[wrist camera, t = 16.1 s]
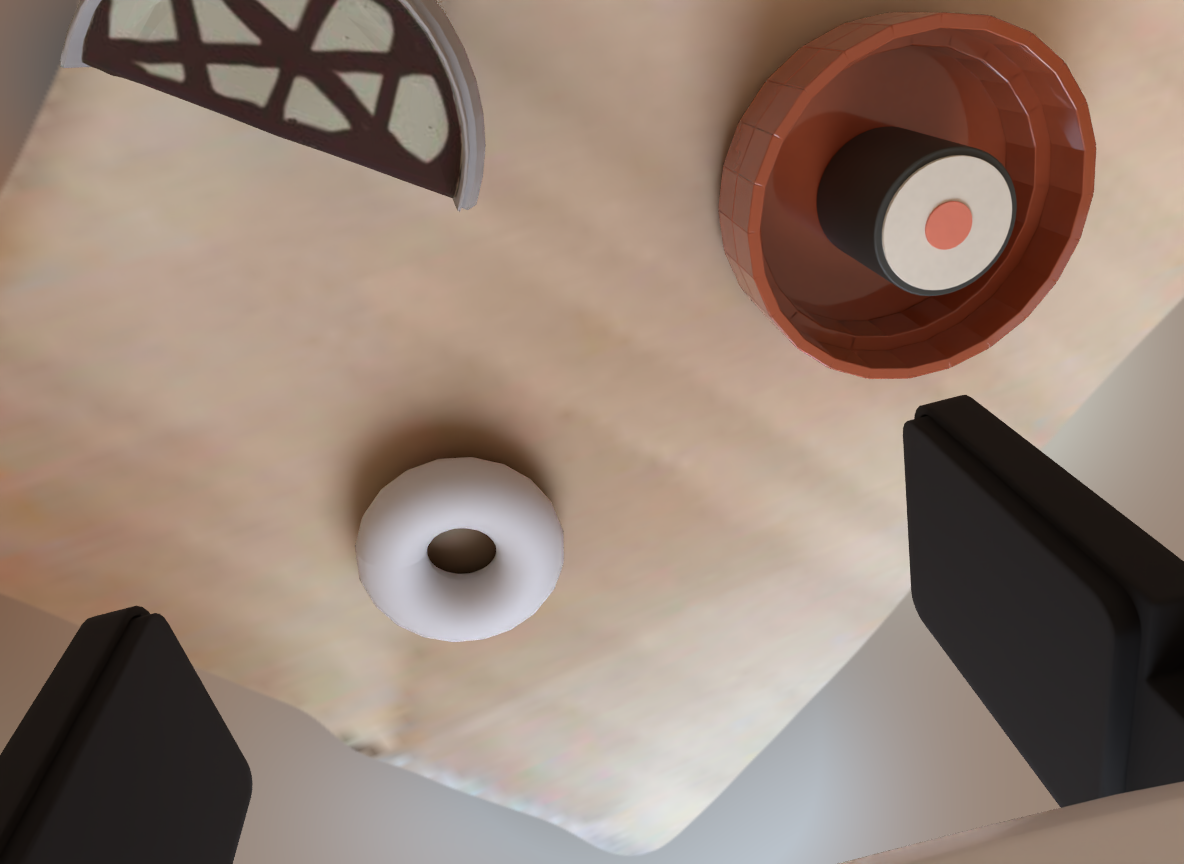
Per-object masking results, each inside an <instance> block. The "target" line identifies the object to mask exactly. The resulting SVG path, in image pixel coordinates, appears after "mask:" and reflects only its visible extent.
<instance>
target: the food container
mask: <svg viewBox="0 0 1184 864" xmlns="http://www.w3.org/2000/svg"><path fill="white" fill-rule="evenodd" d="M60 62H61V66H60V67H63V68H74V67H94V68H97V69H100V70H102V71H104V72H106V73H108V74H110V75H113V76H118V77H122V78H125V79H128V80H131V81H134V82H137V83H140V84H143V85H146V86H148V87H151V88H154V89H156V90H159V91H162V92H164V93H167V94H170V95H172V96H175V97H178V98H180V99H183V100H186V101H188V102H191V103H194V104H196V105H199V106H202V107H204V108H207V109H210V110H212V111H215V112H218V113H220V114H223V115H225V116H228V117H230V118H233V119H235V120H238V121H241V122H243V123H246V124H248V125H251V126H253V127H256V128H258V129H261V130H263V131H266V132H268V133H271V134H274V135H276V136H279V137H282V138H285V139H288V140H291V141H294V142H297V143H299V144H302V145H305V146H308V147H311V148H314V149H317V150H320V151H323V152H326V153H329V154H332V155H334V156H337V157H340V158H343V159H345V160H348V161H351V162H354V163H357V164H359V165H362V166H365V167H368V168H370V169H373V170H376V171H379V172H381V173H384V174H387V175H390V176H392V177H395V178H398V179H401V180H403V181H406V182H409V183H412V184H414V185H417V186H420V187H423V188H425V189H428V190H431V191H434V192H437V193H440V194H442V195H445V196H448V197H451V198H453V201H454V203H455V206H456V208H457V211H460V210H461V208H464V209H466V210H469V209H470V208H472V207H473V206H475V205H476V203H477V199H478V195H479V190H480V186H481V182H482V178H483V168H484V156H485V131H484V116H483V109H482V105H481V100H480V95H479V91H478V86H477V81H476V78H475V76H474V73H473V70H472V67H471V65H470V62H469V59H468V57H467V54H466V51H465V49H464V47H463V45H462V43H461V41H460V39H459V37H458V36H457V34H456V32H455V30H454V28H453V26H452V25H451V23H450V21H449V19H448V17H447V16H446V14H445V13H444V12H443V10H442V9H441V8H440V6H439V5H438V4H437V2H436V1H435V0H80V3H79V5H78V7H77V9H76V12H75V14H74V16H73V19H72V21H71V23H70V26H69V28H68V30H67V34H66V38H65V42H64V47H63V51H62V55H61V59H60Z"/></svg>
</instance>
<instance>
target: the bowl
mask: <svg viewBox="0 0 1184 864" xmlns="http://www.w3.org/2000/svg"><path fill="white" fill-rule="evenodd" d="M891 126H892V127H900V128H904V129H908V130H911V131H915V132H919V133H922V134H926V135H930V136H933V137H937V138H941V139H944V140H948V141H952V142H955V143H959V144H963V145H966V146H970V147H974V148H977V149H981V150H983V151H985V152H987V153H989V154H991V155H992V156H994V157H995V158H996V159H997V160H998V161H999V162H1001V163H1002V165H1003V166H1004V167H1005V169H1006V170H1007V171H1008V173H1009V175H1010V177H1011V179H1012V182H1013V185H1014V188H1015V193H1016V200H1017V211H1016V219H1015V224H1014V228H1013V231H1012V234H1011V237H1010V239H1009V241H1008V243H1007V245H1006V247H1005V249H1004V251H1003V252H1002V254H1001V255H1000V257H999V258H998V259H997V261H996V262H995V263H994V264H993V265H992V267H991V268H990V269H989V270H988V271H987V272H986V273H984V274H983V275H982V276H981V277H980V278H978V279H977V280H976V281H974V282H973V283H971V284H969V285H968V286H966V287H964V288H962V289H960V290H957V291H955V292H951V293H948V294H944V295H938V296H920V295H916V294H911V293H909V292H906V291H904V290H902V289H900V288H899V287H897V286H895V285H894V284H892V283H891V282H889V281H888V280H886V279H884V278H883V277H881V276H880V275H878V274H877V273H875V272H874V271H872V270H871V269H869V268H867V267H866V266H864V265H863V264H861V263H860V262H858V261H857V260H855V259H854V258H852V257H850V256H849V255H847V254H846V253H844V252H843V251H841V250H840V249H838V248H837V247H836V246H835V245H833V244H832V243H831V241H830V240H829V239H828V238H827V236H826V235H825V233H824V232H823V230H822V227H821V225H820V222H819V219H818V213H817V194H818V189H819V184H820V181H821V178H822V175H823V173H824V171H825V169H826V167H827V165H828V164H829V162H830V161H831V159H832V158H833V157H834V155H835V154H836V153H837V152H838V151H839V150H840V149H841V148H842V147H843V146H844V145H845V144H846V143H847V142H848V141H850V140H851V139H853V138H854V137H856V136H857V135H859V134H861V133H863V132H866V131H868V130H871V129H874V128H879V127H891ZM1095 161H1096V142H1095V137H1094V133H1093V128H1092V123H1091V118H1090V114H1089V109H1088V104H1087V102H1086V99H1085V97H1084V95H1083V93H1082V92H1081V90H1080V88H1079V86H1078V85H1077V83H1076V81H1075V79H1074V77H1073V76H1072V74H1071V72H1070V70H1069V68H1068V67H1067V65H1066V63H1064V61H1063V60H1062V59H1061V58H1060V57H1059V56H1058V55H1057V54H1055V53H1054V52H1053V51H1052V50H1051V49H1050V48H1049V47H1048V46H1047V45H1045V44H1044V43H1043V42H1042V41H1041V40H1040V39H1039V38H1038V37H1036V36H1035V35H1034V34H1033V33H1031V32H1030V31H1027V30H1025V29H1022V28H1020V27H1018V26H1015V25H1013V24H1010V23H1008V22H1005V21H1003V20H1000V19H998V18H995V17H993V16H989V15H979V14H961V13H944V12H887V13H883V14H878V15H874V16H870V17H866V18H862V19H858V20H854V21H850V22H846V23H844V24H841V25H840V26H838V27H836V28H834V29H832V30H831V31H829V32H827V33H825V34H823V35H822V36H820V37H818V38H816V39H814V40H813V41H811V42H809V43H807V44H805V45H804V46H803V47H801V48H800V49H799V50H798V51H797V52H796V53H795V54H793V55H792V56H791V57H790V58H789V59H788V60H787V61H786V62H785V63H784V64H783V65H782V66H781V67H780V68H779V69H778V70H776V71H775V72H774V73H773V74H772V75H771V76H770V77H769V78H768V79H767V81H766V82H765V83H764V85H763V86H762V88H761V89H760V91H759V92H758V94H757V95H756V97H755V98H754V100H753V101H752V103H751V104H750V106H749V107H748V109H747V110H746V112H745V114H744V115H743V117H742V118H741V121H740V122H739V123H738V126H737V129H736V132H735V134H734V137H733V140H732V142H731V145H730V148H729V151H728V153H727V156H726V159H725V162H724V166H723V172H722V181H721V190H720V199H719V211H718V212H719V218H720V225H721V232H722V239H723V246H724V251H725V254H726V256H727V258H728V261H729V263H730V265H731V267H732V270H733V272H734V274H735V276H736V279H737V281H738V283H739V285H740V286H741V288H742V290H743V291H744V292H745V293H746V294H747V295H748V297H749V298H750V299H751V300H752V301H753V302H754V303H755V305H756V306H757V307H758V308H759V309H760V310H761V312H762V313H763V314H764V315H765V316H766V317H767V318H768V319H769V320H770V321H771V322H772V323H773V324H774V325H775V326H776V327H777V328H778V329H779V330H780V331H781V332H782V334H783V335H784V336H785V337H786V338H787V339H788V340H789V341H790V342H791V343H792V344H793V345H794V346H795V347H796V348H797V349H799V350H801V351H802V352H804V353H805V354H807V355H809V356H810V357H812V358H813V359H815V360H817V361H818V362H820V363H821V364H823V365H825V366H826V367H828V368H830V369H833V370H837V371H841V372H844V373H848V374H852V375H856V376H859V377H863V378H868V379H906V378H913V377H917V376H921V375H925V374H929V373H933V372H936V371H940V370H944V369H948V368H950V367H953V366H955V365H957V364H959V363H961V362H963V361H965V360H967V359H969V358H971V357H973V356H975V355H977V354H979V353H981V352H982V351H984V350H986V349H988V348H989V347H991V346H993V345H994V344H995V343H996V342H998V341H999V340H1000V339H1001V338H1003V337H1004V336H1005V335H1006V334H1008V333H1009V332H1010V331H1011V330H1013V329H1014V328H1015V327H1016V326H1018V325H1019V324H1020V323H1021V322H1023V321H1024V320H1025V319H1026V318H1027V317H1028V316H1029V315H1030V314H1031V312H1032V311H1033V310H1034V309H1035V308H1036V306H1037V305H1038V304H1039V303H1040V302H1041V300H1042V299H1043V298H1044V297H1045V296H1046V295H1047V293H1048V292H1049V291H1050V290H1051V289H1052V287H1053V286H1054V285H1055V284H1056V281H1058V279H1059V277H1060V275H1061V274H1062V272H1063V270H1064V268H1065V266H1066V264H1067V263H1068V261H1069V259H1070V257H1071V255H1072V253H1073V252H1074V250H1075V248H1076V246H1077V244H1078V242H1079V239H1080V238H1081V235H1082V231H1083V228H1084V224H1085V221H1086V218H1087V214H1088V211H1089V207H1090V204H1091V201H1092V197H1093V192H1094V179H1095Z"/></svg>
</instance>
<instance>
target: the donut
mask: <svg viewBox="0 0 1184 864" xmlns="http://www.w3.org/2000/svg"><path fill="white" fill-rule="evenodd" d="M459 528H468V529H473V530H478V531H480V532H482V533H484V534H486V535H488V536H489V537H490V538H491V539H492V540H493V541H494V543H495V545H496V555H495V558H494V559H493V560H492V561H491V563H490V564H489V565H487V566H486V567H484V568H483V569H481V570H478V571H475V572H472V573H464V574H456V573H451V572H446V571H444V570H442V569H440V568H438V567H436V566H435V565H434V564H433V563H432V562H431V561H430V559H429V557H428V555H427V548H428V545H429V544H430V542H431V541H432V539H433V538H434V537H436V536H437V535H439V534H440V533H442V532H445V531H448V530H451V529H459ZM355 549H356V557H357V564H358V571H359V578H360V581H361V582H362V584H363V586H364V588H365V589H366V591H367V593H368V595H369V596H370V598H371V600H372V602H373V603H374V604H375V606H376V607H377V608H378V609H380V610H381V611H382V612H383V613H384V614H385V615H386V616H388V617H389V618H390V619H391V620H392V621H393V622H394V623H396V624H397V625H398V626H400V627H403V628H405V629H407V630H409V631H411V632H414V633H416V634H418V635H420V636H422V637H426V638H432V639H438V640H444V641H450V642H459V641H471V640H482V639H486V638H489V637H491V636H494V635H497V634H500V633H503V632H506V631H509V630H511V629H513V628H514V627H516V626H517V625H519V624H520V623H521V622H523V621H524V620H526V619H527V618H529V617H530V616H532V615H533V614H534V613H535V612H536V611H537V610H538V608H539V607H540V606H541V605H542V603H543V602H544V601H545V600H546V598H547V597H548V596H549V595H550V594H551V592H552V591H553V590H554V588H555V585H556V583H557V580H558V577H559V574H560V572H561V569H562V566H563V562H564V534H563V529H562V526H561V524H560V521H559V519H558V517H557V514H556V512H555V509H554V507H553V505H552V503H551V501H550V500H549V498H548V497H547V496H546V495H545V494H544V493H543V492H542V491H541V490H540V489H539V488H538V487H537V485H536V484H535V483H534V482H533V481H532V480H531V479H529V478H528V477H526V476H524V475H522V474H520V473H519V472H517V471H515V470H513V469H511V468H510V467H508V466H506V465H504V464H501V463H496V462H492V461H487V460H483V459H478V458H473V457H463V458H446V459H437V460H434V461H431V462H429V463H426V464H423V465H420V466H417V467H414V468H412V469H409V470H406V471H405V472H404V473H402V474H401V475H400V476H398V477H397V478H396V479H394V480H393V481H392V482H390V483H389V484H387V485H386V486H385V487H383V488H382V489H381V490H380V492H379V493H378V495H377V496H376V498H375V499H374V500H373V502H372V503H371V505H370V506H369V508H368V509H367V511H366V512H365V514H364V515H363V517H362V520H361V524H360V528H359V532H358V536H357V541H356V545H355Z"/></svg>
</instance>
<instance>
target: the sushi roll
mask: <svg viewBox="0 0 1184 864" xmlns="http://www.w3.org/2000/svg"><path fill="white" fill-rule="evenodd" d="M1016 211H1017V200H1016V193H1015V188H1014V185H1013V182H1012V179H1011V177H1010V175H1009V173H1008V171H1007V170H1006V169H1005V167H1004V166H1003V165H1002V163H1001V162H999V161H998V160H997V159H996V158H995V157H994V156H992V155H991V154H989V153H987V152H985V151H983V150H981V149H977V148H974V147H970V146H966V145H963V144H959V143H955V142H952V141H948V140H944V139H941V138H937V137H933V136H930V135H926V134H922V133H919V132H915V131H911V130H908V129H904V128H900V127H892V126H891V127H879V128H874V129H871V130H868V131H866V132H863V133H861V134H859V135H857V136H856V137H854V138H853V139H851V140H850V141H848V142H847V143H846V144H845V145H844V146H843V147H842V148H841V149H840V150H839V151H838V152H837V153H836V154H835V155H834V157H833V158H832V159H831V161H830V162H829V164H828V165H827V167H826V169H825V171H824V173H823V175H822V178H821V181H820V184H819V189H818V194H817V213H818V219H819V222H820V225H821V227H822V230H823V232H824V233H825V235H826V236H827V238H828V239H829V240H830V241H831V243H832V244H833V245H835V246H836V247H837V248H838V249H840V250H841V251H843V252H844V253H846V254H847V255H849V256H850V257H852V258H854V259H855V260H857V261H858V262H860V263H861V264H863V265H864V266H866V267H867V268H869V269H871V270H872V271H874V272H875V273H877V274H878V275H880V276H881V277H883V278H884V279H886V280H888V281H889V282H891V283H892V284H894V285H895V286H897V287H899V288H900V289H902V290H904V291H906V292H909V293H911V294H916V295H920V296H938V295H944V294H948V293H951V292H955V291H957V290H960V289H962V288H964V287H966V286H968V285H969V284H971V283H973V282H974V281H976V280H977V279H978V278H980V277H981V276H982V275H983V274H984V273H986V272H987V271H988V270H989V269H990V268H991V267H992V265H993V264H994V263H995V262H996V261H997V259H998V258H999V257H1000V255H1001V254H1002V252H1003V251H1004V249H1005V247H1006V245H1007V243H1008V241H1009V239H1010V237H1011V234H1012V231H1013V228H1014V224H1015V219H1016Z"/></svg>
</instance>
